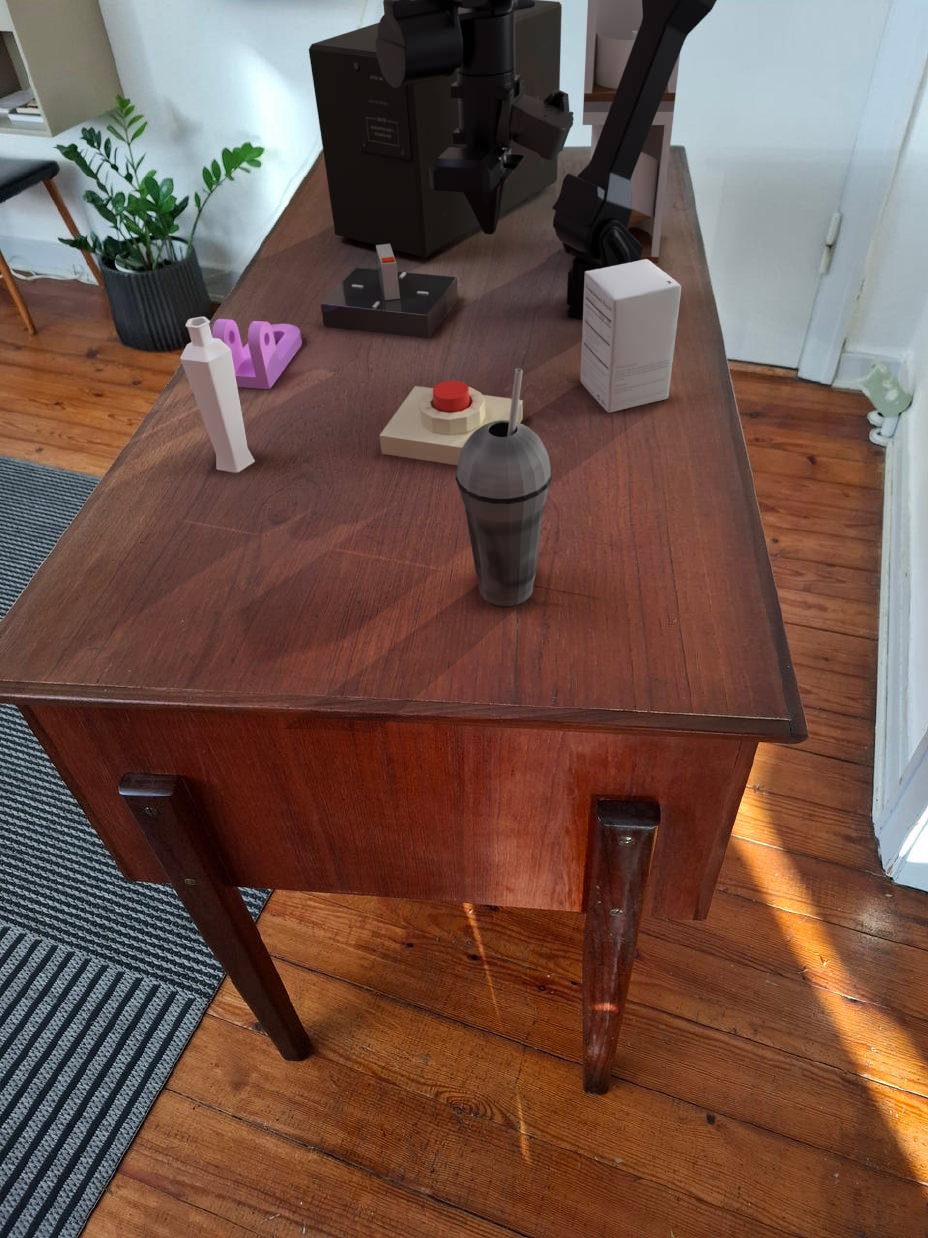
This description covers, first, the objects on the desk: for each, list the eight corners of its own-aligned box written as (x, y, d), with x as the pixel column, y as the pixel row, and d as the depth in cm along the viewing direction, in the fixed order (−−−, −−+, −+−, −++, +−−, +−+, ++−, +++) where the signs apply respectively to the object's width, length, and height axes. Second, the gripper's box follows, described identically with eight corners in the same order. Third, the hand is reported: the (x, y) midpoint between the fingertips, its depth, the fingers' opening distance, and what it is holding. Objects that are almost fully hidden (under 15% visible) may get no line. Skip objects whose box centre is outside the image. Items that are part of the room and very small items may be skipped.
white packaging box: (638, 368, 100) (649, 256, 91) (669, 400, 95) (684, 284, 86) (577, 382, 99) (582, 269, 90) (606, 414, 94) (614, 298, 85)
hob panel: (458, 299, 115) (456, 275, 113) (428, 338, 108) (426, 313, 106) (359, 289, 119) (356, 265, 117) (324, 326, 112) (319, 302, 109)
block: (522, 418, 94) (522, 384, 91) (494, 471, 87) (493, 436, 84) (416, 403, 97) (413, 370, 94) (381, 453, 90) (377, 419, 88)
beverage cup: (459, 564, 77) (445, 350, 64) (542, 556, 78) (546, 342, 64) (466, 622, 72) (452, 403, 58) (556, 613, 72) (563, 393, 59)
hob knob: (379, 280, 113) (375, 242, 110) (393, 278, 113) (389, 241, 110) (385, 300, 109) (381, 262, 106) (400, 298, 109) (396, 260, 106)
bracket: (269, 389, 101) (257, 331, 96) (224, 385, 102) (209, 328, 97) (308, 335, 110) (298, 280, 105) (266, 333, 111) (254, 278, 106)
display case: (581, 237, 128) (595, -69, 104) (657, 238, 126) (689, -72, 102) (576, 270, 120) (590, -53, 96) (656, 272, 118) (691, -56, 94)
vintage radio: (468, 164, 153) (461, -12, 136) (565, 183, 144) (571, -3, 127) (319, 239, 132) (288, 42, 115) (422, 267, 123) (406, 58, 106)
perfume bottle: (266, 452, 92) (232, 312, 81) (245, 476, 89) (207, 334, 78) (227, 446, 93) (189, 307, 82) (205, 469, 90) (163, 329, 79)
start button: (474, 398, 90) (473, 382, 89) (462, 416, 88) (462, 401, 87) (440, 393, 91) (439, 378, 90) (428, 411, 89) (427, 396, 88)
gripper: (540, 98, 78) (538, 274, 89) (589, 47, 90) (582, 207, 101) (421, 93, 81) (433, 264, 92) (484, 44, 93) (488, 200, 104)
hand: (489, 232), depth 97 cm, fingers closed
